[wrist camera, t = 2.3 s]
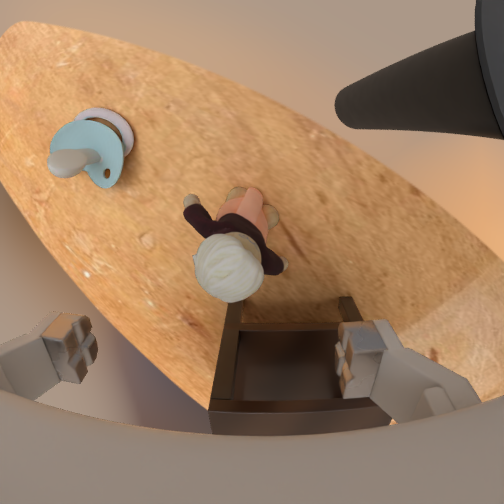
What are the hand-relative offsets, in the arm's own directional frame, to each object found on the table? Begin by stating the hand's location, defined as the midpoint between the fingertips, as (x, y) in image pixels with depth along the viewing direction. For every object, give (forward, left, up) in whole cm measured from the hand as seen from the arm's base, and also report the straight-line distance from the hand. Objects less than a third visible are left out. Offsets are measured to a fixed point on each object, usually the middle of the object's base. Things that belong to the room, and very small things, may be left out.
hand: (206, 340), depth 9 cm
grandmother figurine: (0, 0, -17) cm, 17 cm away
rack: (-4, +13, -17) cm, 21 cm away
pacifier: (+12, -6, -17) cm, 21 cm away
